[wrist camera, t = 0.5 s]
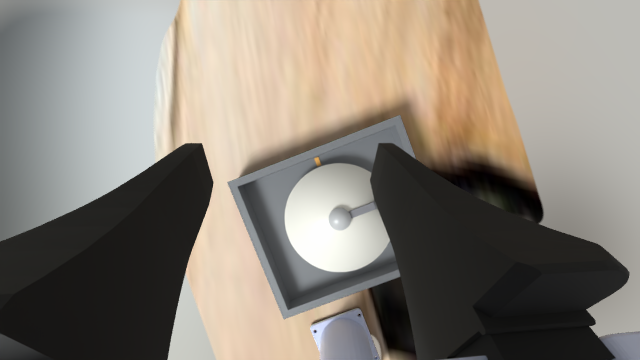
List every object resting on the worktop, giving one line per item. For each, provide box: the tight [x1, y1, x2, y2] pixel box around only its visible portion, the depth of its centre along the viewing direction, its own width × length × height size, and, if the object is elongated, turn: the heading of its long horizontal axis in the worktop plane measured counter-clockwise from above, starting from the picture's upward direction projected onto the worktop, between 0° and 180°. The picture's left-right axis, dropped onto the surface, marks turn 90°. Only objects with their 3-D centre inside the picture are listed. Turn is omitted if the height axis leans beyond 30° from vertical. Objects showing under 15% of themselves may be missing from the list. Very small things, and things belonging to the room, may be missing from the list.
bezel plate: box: [227, 115, 416, 319], centre depth 35 cm, size 20×24×4 cm
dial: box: [285, 163, 390, 272], centre depth 33 cm, size 16×15×5 cm
